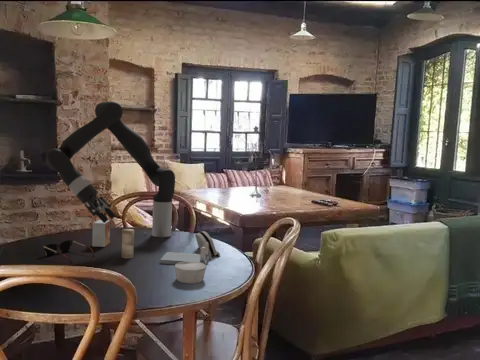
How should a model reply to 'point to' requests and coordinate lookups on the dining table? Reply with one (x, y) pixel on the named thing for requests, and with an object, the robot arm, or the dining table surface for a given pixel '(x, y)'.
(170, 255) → the pad
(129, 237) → the birch pin
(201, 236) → the grey half-round upright piece
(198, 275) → the ramekin
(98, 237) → the small box
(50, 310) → the dining table surface
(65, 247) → the sunglasses
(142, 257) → the dining table surface
